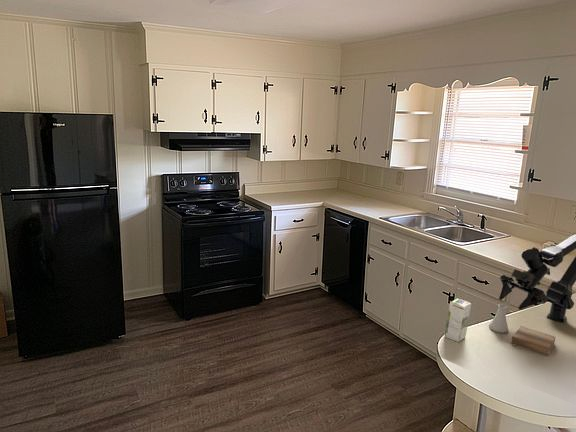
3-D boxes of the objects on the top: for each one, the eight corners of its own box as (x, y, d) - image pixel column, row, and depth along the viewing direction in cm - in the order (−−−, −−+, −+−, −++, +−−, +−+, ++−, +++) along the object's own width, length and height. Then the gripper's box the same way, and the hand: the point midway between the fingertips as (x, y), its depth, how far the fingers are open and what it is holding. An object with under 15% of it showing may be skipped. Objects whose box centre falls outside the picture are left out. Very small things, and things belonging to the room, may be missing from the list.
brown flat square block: (519, 332, 175) (520, 325, 175) (554, 344, 168) (555, 336, 167) (511, 343, 166) (512, 336, 166) (547, 356, 159) (548, 348, 158)
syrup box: (451, 332, 173) (456, 297, 170) (465, 338, 169) (471, 302, 165) (444, 336, 169) (449, 301, 166) (459, 343, 165) (464, 306, 162)
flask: (502, 325, 181) (507, 302, 179) (512, 334, 174) (516, 310, 172) (485, 324, 181) (489, 301, 179) (494, 333, 174) (498, 309, 172)
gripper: (506, 255, 183) (482, 283, 181) (548, 271, 166) (521, 301, 165) (517, 272, 188) (493, 299, 186) (558, 288, 171) (532, 318, 169)
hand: (509, 304), depth 176 cm, fingers open, 9 cm apart
